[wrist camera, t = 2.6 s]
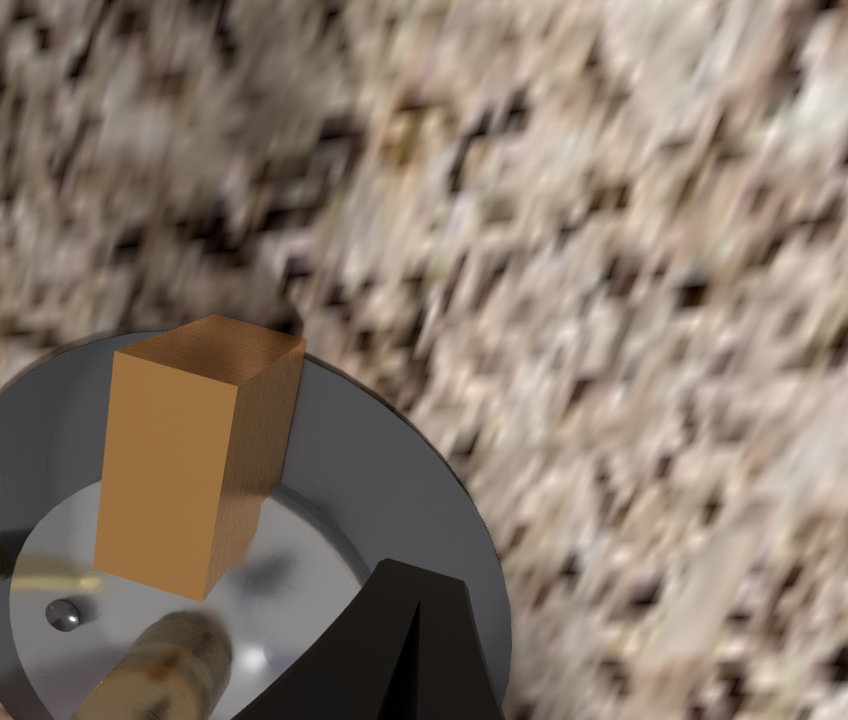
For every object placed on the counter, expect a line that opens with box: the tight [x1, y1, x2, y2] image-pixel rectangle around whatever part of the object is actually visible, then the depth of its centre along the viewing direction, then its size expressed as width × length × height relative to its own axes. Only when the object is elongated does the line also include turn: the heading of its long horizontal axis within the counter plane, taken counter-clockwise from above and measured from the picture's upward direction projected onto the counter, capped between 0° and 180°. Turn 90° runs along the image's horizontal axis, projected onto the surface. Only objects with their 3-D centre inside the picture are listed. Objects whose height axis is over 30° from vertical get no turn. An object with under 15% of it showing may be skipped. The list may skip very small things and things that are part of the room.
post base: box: [0, 330, 512, 720], centre depth 16 cm, size 18×18×4 cm
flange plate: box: [9, 314, 371, 720], centre depth 15 cm, size 11×15×4 cm
